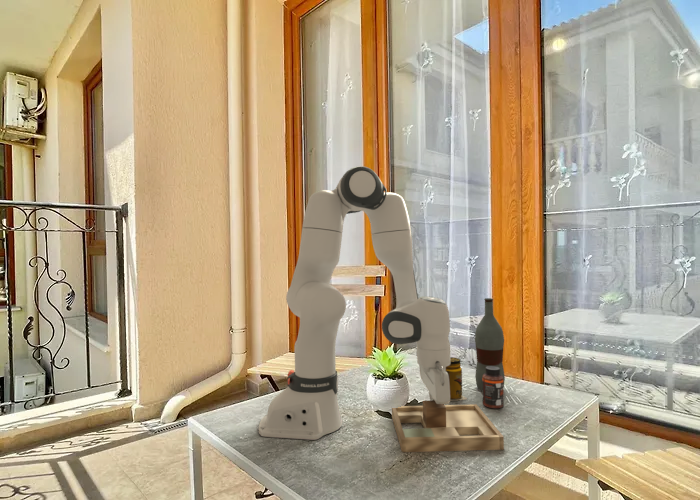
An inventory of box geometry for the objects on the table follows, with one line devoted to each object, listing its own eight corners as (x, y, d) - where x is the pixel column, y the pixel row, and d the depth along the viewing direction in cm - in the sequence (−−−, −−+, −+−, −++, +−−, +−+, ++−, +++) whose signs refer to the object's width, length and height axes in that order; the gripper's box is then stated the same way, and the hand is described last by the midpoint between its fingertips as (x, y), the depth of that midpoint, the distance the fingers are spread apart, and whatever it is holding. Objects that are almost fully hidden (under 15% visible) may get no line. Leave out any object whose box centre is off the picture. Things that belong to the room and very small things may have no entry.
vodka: (510, 389, 138) (509, 298, 138) (495, 396, 132) (494, 301, 132) (484, 382, 145) (483, 296, 145) (469, 388, 139) (468, 298, 139)
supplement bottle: (505, 410, 121) (504, 371, 121) (483, 408, 123) (483, 370, 122) (502, 402, 127) (501, 365, 127) (481, 401, 128) (481, 364, 128)
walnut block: (426, 427, 106) (426, 408, 106) (423, 419, 111) (422, 400, 111) (446, 427, 106) (446, 407, 106) (441, 419, 111) (441, 400, 111)
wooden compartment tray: (401, 452, 98) (401, 439, 98) (391, 417, 118) (391, 406, 118) (503, 449, 98) (503, 436, 98) (476, 414, 118) (476, 404, 118)
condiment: (467, 399, 130) (466, 361, 130) (442, 402, 128) (441, 363, 128) (456, 391, 137) (455, 355, 137) (432, 394, 135) (431, 357, 135)
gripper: (456, 368, 103) (457, 424, 103) (436, 347, 123) (437, 394, 123) (430, 368, 103) (431, 424, 103) (415, 348, 123) (416, 395, 123)
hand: (434, 408), depth 113 cm, fingers closed
